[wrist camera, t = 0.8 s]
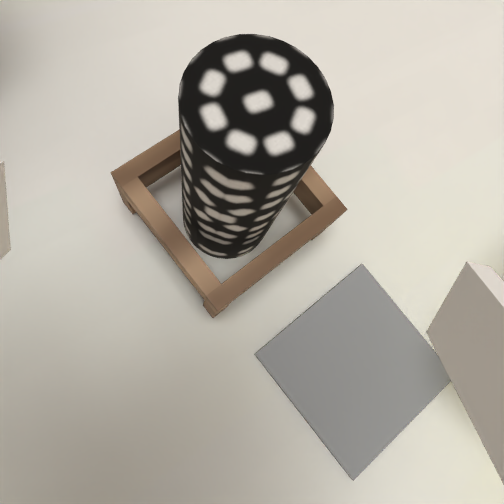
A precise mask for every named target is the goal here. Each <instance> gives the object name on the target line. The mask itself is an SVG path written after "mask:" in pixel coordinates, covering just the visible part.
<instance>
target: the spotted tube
mask: <svg viewBox="0 0 504 504" xmlns="http://www.w3.org/2000/svg"><path fill="white" fill-rule="evenodd" d="M178 102H179V127H180V152H181V176H182V201H183V221H184V227H185V230H186V233H187V235H188V237H189V238H190V240H191V241H192V242H193V244H194V245H195V246H196V247H197V248H199V249H200V250H201V251H202V252H204V253H206V254H208V255H210V256H213V257H217V258H224V259H229V258H236V257H240V256H243V255H245V254H247V253H249V252H250V251H252V250H253V249H254V248H255V247H256V246H257V245H258V244H259V242H260V241H261V240H262V238H263V237H264V235H265V234H266V232H267V231H268V229H269V228H270V226H271V225H272V223H273V222H274V220H275V219H276V217H277V216H278V214H279V212H280V211H281V209H282V208H283V206H284V205H285V203H286V202H287V200H288V199H289V197H290V196H291V194H292V193H293V191H294V190H295V188H296V187H297V185H298V183H299V182H300V180H301V179H302V177H303V176H304V174H305V173H306V171H307V170H308V168H309V167H310V165H311V164H312V162H313V161H314V159H315V158H316V156H317V155H318V153H319V151H320V150H321V148H322V147H323V145H324V144H325V142H326V140H327V138H328V136H329V134H330V131H331V127H332V123H333V118H334V104H333V100H332V95H331V91H330V88H329V86H328V84H327V81H326V79H325V77H324V76H323V74H322V73H321V71H320V70H319V68H318V67H317V66H316V65H315V64H314V63H313V61H312V60H311V59H310V58H309V57H308V56H306V55H305V54H304V53H302V52H301V51H300V50H298V49H297V48H296V47H294V46H292V45H290V44H288V43H286V42H284V41H282V40H279V39H276V38H273V37H270V36H263V35H257V34H239V35H234V36H229V37H225V38H222V39H220V40H217V41H215V42H213V43H211V44H209V45H208V46H206V47H205V48H203V49H202V50H201V51H200V52H199V53H198V54H197V55H196V56H195V57H194V58H193V59H192V60H191V61H190V63H189V64H188V66H187V68H186V69H185V71H184V73H183V76H182V79H181V82H180V87H179V96H178Z"/></svg>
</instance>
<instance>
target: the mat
mask: <svg viewBox="0 0 504 504" xmlns="http://www.w3.org/2000/svg"><path fill="white" fill-rule="evenodd" d="M255 355H256V357H257V358H258V359H259V361H260V362H261V363H262V364H263V366H264V367H265V368H266V370H267V371H268V372H269V373H270V375H271V376H272V377H273V379H274V380H275V381H276V382H277V384H278V385H279V386H280V388H281V389H282V390H283V391H284V393H285V394H286V395H287V397H288V398H289V399H290V400H291V402H292V403H293V404H294V406H295V407H296V408H297V409H298V411H299V412H300V413H301V415H302V416H303V417H304V419H305V420H306V421H307V422H308V424H309V425H310V426H311V428H312V429H313V430H314V431H315V433H316V434H317V435H318V437H319V438H320V439H321V440H322V442H323V443H324V444H325V446H326V447H327V448H328V449H329V451H330V452H331V453H332V455H333V456H334V457H335V458H336V460H337V461H338V462H339V464H340V465H341V466H342V467H343V469H344V470H345V471H346V473H347V474H348V475H349V477H350V478H351V479H352V480H354V479H355V478H356V477H357V476H358V475H359V474H360V473H361V472H362V471H363V470H364V469H365V468H366V467H367V466H368V465H369V464H370V463H371V462H372V461H373V460H374V459H375V458H376V457H377V456H378V455H379V454H380V453H381V452H382V451H383V450H384V449H385V448H386V447H387V446H388V445H389V444H390V443H391V442H392V441H393V440H394V439H395V438H396V437H397V435H398V434H399V433H400V432H401V431H402V430H403V429H404V428H405V427H406V426H407V425H408V424H409V423H410V422H411V421H412V420H413V419H414V418H415V417H416V416H417V415H418V414H419V413H420V412H421V411H422V410H423V409H424V408H425V407H426V406H427V405H428V404H429V403H430V402H431V401H432V400H433V399H434V398H435V397H436V396H437V395H438V394H439V393H440V392H441V391H442V389H443V388H444V387H445V386H446V385H447V384H448V383H449V382H450V381H451V380H450V378H449V376H448V374H447V372H446V370H445V368H444V366H443V364H442V362H441V360H440V358H439V356H438V355H437V354H436V352H435V351H434V350H433V349H432V347H431V346H430V345H429V344H428V343H427V341H426V340H425V339H424V338H423V337H422V335H421V334H420V333H419V332H418V330H417V329H416V328H415V327H414V326H413V324H412V323H411V322H410V321H409V320H408V318H407V317H406V316H405V315H404V314H403V312H402V311H401V310H400V309H399V307H398V306H397V305H396V304H395V303H394V301H393V300H392V299H391V298H390V297H389V295H388V294H387V293H386V292H385V290H384V289H383V288H382V287H381V286H380V284H379V283H378V282H377V281H376V280H375V278H374V277H373V276H372V275H371V274H370V272H369V271H368V270H367V269H366V267H365V266H364V265H363V264H361V265H360V266H359V267H358V268H356V269H355V270H354V271H353V272H352V273H350V274H349V275H348V276H347V277H346V278H344V279H343V280H342V281H341V282H340V283H338V284H337V285H336V286H335V287H334V288H333V289H331V290H330V291H329V292H328V293H327V294H325V295H324V296H323V297H322V298H321V299H319V300H318V301H317V302H316V303H315V304H314V305H312V306H311V307H310V308H309V309H308V310H306V311H305V312H304V313H303V314H302V315H300V316H299V317H298V318H297V319H296V320H295V321H293V322H292V323H291V324H290V325H289V326H287V327H286V328H285V329H284V330H283V331H281V332H280V333H279V334H278V335H277V336H276V337H274V338H273V339H272V340H271V341H270V342H268V343H267V344H266V345H265V346H264V347H262V348H261V349H260V350H259V351H258V352H256V353H255Z"/></svg>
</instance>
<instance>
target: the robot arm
mask: <svg viewBox="0 0 504 504" xmlns="http://www.w3.org/2000/svg"><path fill="white" fill-rule="evenodd" d="M10 250H11V248H10V235H9V222H8V208H7V195H6V182H5V169H4V161H0V259H2V258H3V257H4V256H5V255H6V254H7V253H8V252H9V251H10ZM426 332H427V334H428V336H429V338H430V340H431V342H432V344H433V346H434V348H435V350H436V352H437V354H438V356H439V358H440V360H441V362H442V364H443V366H444V368H445V370H446V372H447V374H448V376H449V378H450V380H451V382H452V384H453V385H454V387H455V389H456V391H457V393H458V395H459V397H460V399H461V401H462V403H463V405H464V407H465V409H466V411H467V413H468V415H469V417H470V419H471V421H472V423H473V425H474V427H475V429H476V431H477V433H478V435H479V437H480V439H481V441H482V443H483V445H484V447H485V449H486V451H487V453H488V455H489V457H490V459H491V460H492V462H493V464H494V466H495V468H496V470H497V472H498V474H499V476H500V478H501V480H502V482H503V484H504V281H503V280H502V279H501V278H500V276H499V275H498V274H497V273H496V272H495V271H494V270H493V269H492V267H490V266H485V265H481V264H476V263H471V262H466V264H465V265H464V267H463V269H462V271H461V272H460V274H459V276H458V278H457V279H456V281H455V283H454V284H453V286H452V288H451V290H450V291H449V293H448V295H447V297H446V298H445V300H444V302H443V304H442V305H441V307H440V309H439V311H438V312H437V314H436V316H435V317H434V319H433V321H432V323H431V324H430V326H429V328H428V330H427V331H426Z"/></svg>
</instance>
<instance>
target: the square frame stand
mask: <svg viewBox="0 0 504 504" xmlns="http://www.w3.org/2000/svg"><path fill="white" fill-rule="evenodd" d="M180 165H181V152H180V130H178V131H176V132H175V133H173V134H172V135H170V136H168V137H167V138H165V139H164V140H162V141H160V142H159V143H157V144H156V145H154V146H152V147H151V148H149V149H148V150H146V151H144V152H143V153H141V154H140V155H138V156H136V157H135V158H133V159H132V160H130V161H128V162H127V163H125V164H124V165H122V166H120V167H119V168H117V169H116V170H114V171H112V172H111V175H112V177H113V179H114V181H115V184H116V186H117V188H118V191H119V193H120V195H121V197H122V200H123V202H124V204H125V205H126V206H127V207H128V209H129V210H130V211H131V213H132V214H135V213H136V212H137V213H138V215H139V216H140V217H141V219H142V220H143V221H144V223H145V224H146V225H147V226H148V228H149V229H150V230H151V232H152V233H153V234H154V235H155V237H156V238H157V239H158V241H159V242H160V243H161V245H162V246H163V247H164V248H165V250H166V251H167V252H168V254H169V255H170V256H171V257H172V259H173V260H174V261H175V263H176V264H177V265H178V266H179V268H180V269H181V270H182V272H183V273H184V274H185V276H186V277H187V278H188V279H189V281H190V282H191V283H192V285H193V286H194V287H195V288H196V290H197V291H198V292H199V294H200V295H201V296H202V298H203V299H204V300H205V301H204V304H203V306H204V307H205V308H206V310H207V311H208V312H209V314H210V315H211V316H212V318H214V317H215V316H216V315H217V314H219V313H220V312H221V311H223V310H224V309H225V308H226V307H227V306H228V305H229V304H230V303H231V302H232V301H233V300H235V299H236V298H237V297H238V296H240V295H241V294H242V293H244V292H245V291H246V290H247V289H249V288H250V287H251V286H252V285H254V284H255V283H256V282H258V281H259V280H260V279H261V278H263V277H264V276H265V275H266V274H268V273H269V272H270V271H272V270H273V269H274V268H275V267H277V266H278V265H279V264H280V263H282V262H283V261H284V260H286V259H287V258H288V257H289V256H291V255H292V254H293V253H294V252H296V251H297V250H298V249H300V248H301V247H302V246H303V245H305V244H306V243H307V242H308V241H310V240H311V241H312V240H313V239H314V238H315V237H317V236H318V235H319V234H320V233H322V232H323V231H324V230H325V229H326V228H327V227H328V226H330V225H331V224H332V223H333V222H334V221H335V220H336V219H337V218H339V217H340V216H341V215H342V214H343V213H344V212H345V211H346V210H347V208H346V207H345V206H344V205H343V204H342V202H341V201H340V200H339V199H338V198H337V196H336V195H335V194H334V193H333V192H332V190H331V189H330V188H329V187H328V186H327V184H326V183H325V182H324V181H323V180H322V178H321V177H320V176H319V175H318V174H317V172H316V171H315V170H314V169H313V168H312V166H311V165H310V167H309V168H308V170H307V171H306V173H305V174H304V176H303V177H302V179H301V180H300V182H299V183H298V185H297V187H296V188H295V190H294V191H293V192H294V194H295V195H296V196H297V197H298V199H299V200H300V201H301V202H302V203H303V205H304V206H305V207H306V208H307V210H308V211H309V212H310V213H311V214H312V215H311V216H310V217H308V218H307V219H306V220H304V221H303V222H302V223H301V224H299V225H298V226H297V227H295V228H294V229H293V230H291V231H290V232H289V233H287V234H286V235H285V236H284V237H282V238H281V239H280V240H278V241H277V242H276V243H274V244H273V245H272V246H270V247H269V248H268V249H267V250H265V251H264V252H263V253H261V254H260V255H259V256H257V257H256V258H255V259H254V260H252V261H251V262H250V263H248V264H247V265H246V266H244V267H243V268H242V269H240V270H239V271H238V272H237V273H235V274H234V275H233V276H231V277H230V278H229V279H227V280H226V281H225V282H223V283H222V284H221V283H220V282H219V280H218V279H217V278H216V276H215V275H214V274H213V273H212V271H211V270H210V269H209V268H208V266H207V265H206V264H205V262H204V261H203V260H202V259H201V257H200V256H199V255H198V253H197V252H196V251H195V250H194V248H193V247H192V246H191V244H190V243H189V242H188V241H187V239H186V238H185V237H184V236H183V234H182V233H181V232H180V230H179V229H178V228H177V227H176V225H175V224H174V223H173V221H172V220H171V219H170V218H169V216H168V215H167V214H166V212H165V211H164V210H163V209H162V207H161V206H160V205H159V204H158V202H157V201H156V200H155V198H154V197H153V196H152V195H151V193H150V192H149V191H148V189H147V188H146V187H148V186H149V185H151V184H152V183H154V182H155V181H157V180H159V179H160V178H162V177H163V176H165V175H166V174H168V173H169V172H171V171H172V170H174V169H175V168H177V167H178V166H180Z"/></svg>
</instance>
